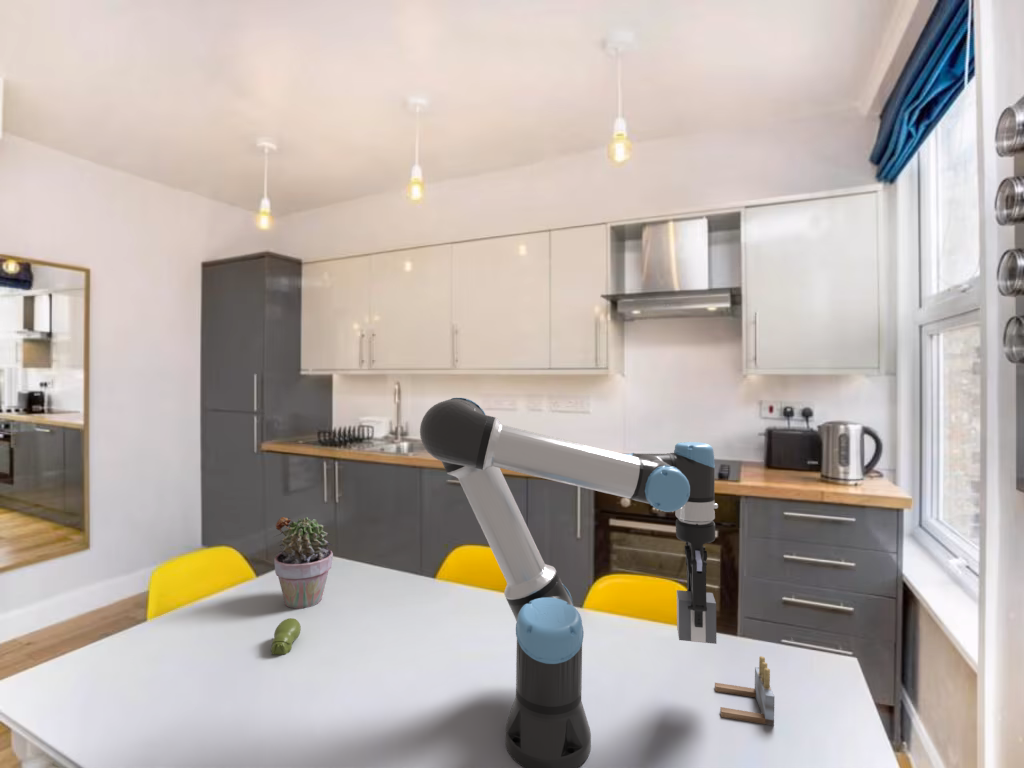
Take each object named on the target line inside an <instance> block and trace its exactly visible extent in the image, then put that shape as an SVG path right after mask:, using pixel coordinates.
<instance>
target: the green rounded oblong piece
mask: <svg viewBox="0 0 1024 768" xmlns="http://www.w3.org/2000/svg"><path fill="white" fill-rule="evenodd" d="M301 629H302V628H301V624H300V621H299V620H297V619H296V618H293V617H292V618H286V619H283V620H282V621H281V622H280V623H279V624H278V625H277V626H276V628H275V630H274V634H273V639H272V641H271V648H270V651H271V655H280V656H281V655H283V656H284V655H287V654H289V653H290V652H291V650H292V648H293V646H292V645H293V642H294V641H296V640H297V639H298V638H299V636H300V634H301V631H302V630H301Z"/></svg>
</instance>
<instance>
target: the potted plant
mask: <svg viewBox="0 0 1024 768" xmlns="http://www.w3.org/2000/svg"><path fill="white" fill-rule="evenodd" d="M297 519H298V521H297V522H295V521H292V519H291V518H290V517H284V516H283V517H280V518H279V519H278V520H277V522H276V523H275V528H276V530H278V531H280V534H277V535H275V536H274V535H273V538H274V537H277V536H280V535H282V534H283V536H284V537H283V538H281V540H280V541H279V543H281V544H279V545H278V546H279V547H280V549H281V550H280V551H279V552H278V553H277V554H276V555H275V557H274V559H273V562H274V563H273V564H274V571H275V572H274V573H275V575H276V576H277V577H278V582H279V585H280V589H281V592H282V597H283V600H284V601H283V602H284V605H285V606H286V607H288V608H290V609H298V610H299V609H306V608H307V609H308V608H310V607H314V606H315V605H318V604H319V603H320V602H321V601H322V600H323V595H324V593H325V592H324V590H325V587H326V584H327V578H328V575H329V572H330V570H331V569H332V568H333V567H332V565H333V561H335V560H334V559H333V556H334V553H333V551H332V550H331V549H329V548H328V546H334V547H335V548H336V547H337V546H336V545H337V544H333V543H329V540H326V539H325V538H327V536H328V535H329V536H330V534H329V533H328V532H326V531H324V527H325V526H326V525H323V524H319V523H318V519H315V518H313V519H312V520H311V519H309V517H307V516H305V517H303V518H301V517H298V518H297ZM284 527H285V528H286V530H284V531H283V528H284ZM332 536H333V537H334V536H335V535H333V534H332ZM282 547H283V548H282Z"/></svg>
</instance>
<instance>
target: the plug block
mask: <svg viewBox="0 0 1024 768" xmlns="http://www.w3.org/2000/svg"><path fill="white" fill-rule="evenodd" d="M688 606H691V591H687V590H680V589H677V590H676V630H677V636H678V640H679V641H682V642H683V641H684V642H685V641H686V642H692V641H691V612H690V610H689V609H688ZM706 607H707V611H706V612H705V623H706V643H707V644H714V645H715V644H716V645H717V602H716V599H715V597H714V593H713V592H707V591H706ZM706 643H705V644H706Z"/></svg>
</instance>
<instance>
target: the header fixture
mask: <svg viewBox="0 0 1024 768" xmlns="http://www.w3.org/2000/svg"><path fill="white" fill-rule="evenodd" d="M758 659H759V660H758V661H759V663H758V666H759V667H757V666H754V688H752V687H748V686H747V687H746V686H741V685H733V684H728V683H727V684H726V683H721V682H720V683H719V682H714V689H715V692H718V693H723V694H724V693H725V694H730V695H737V696H744V697H749V698H755V699H756V701H757V704H758V707H759V710H760V713H758V712H753V711H747V710H743V709H734V708H729V707H722V706H720V716H721V718H725V719H732V720H737V721H745V722H749V723H755V724H762V725H768V726H775V695H774V692H773V690H772V687H771V685H770V684H771V669H770V668H768V663H767V662H766V658H765V657H764V656H761V655H760V656H759V658H758Z"/></svg>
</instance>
